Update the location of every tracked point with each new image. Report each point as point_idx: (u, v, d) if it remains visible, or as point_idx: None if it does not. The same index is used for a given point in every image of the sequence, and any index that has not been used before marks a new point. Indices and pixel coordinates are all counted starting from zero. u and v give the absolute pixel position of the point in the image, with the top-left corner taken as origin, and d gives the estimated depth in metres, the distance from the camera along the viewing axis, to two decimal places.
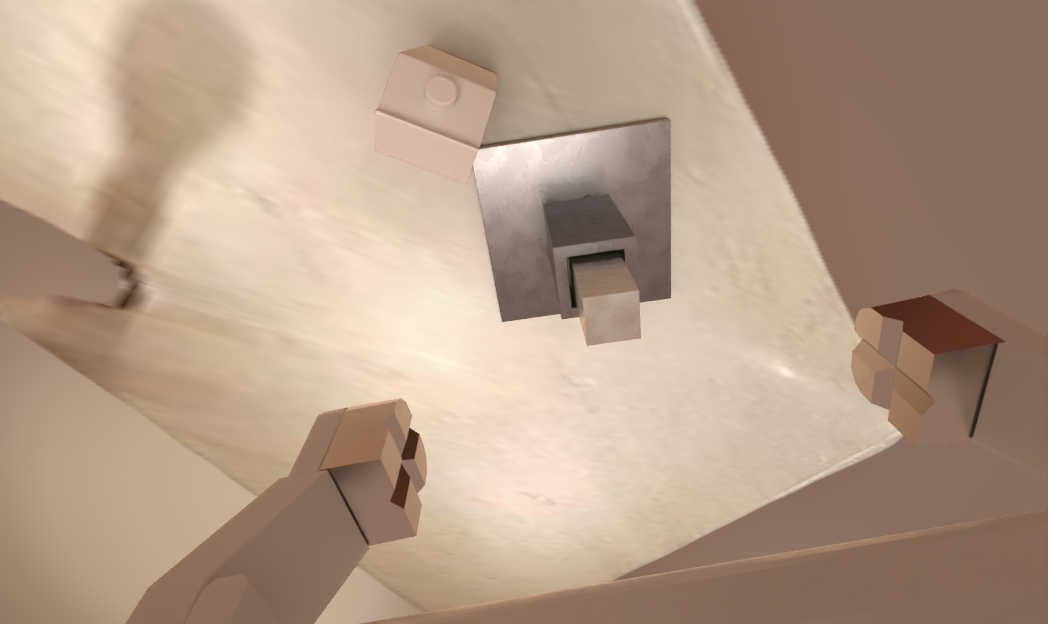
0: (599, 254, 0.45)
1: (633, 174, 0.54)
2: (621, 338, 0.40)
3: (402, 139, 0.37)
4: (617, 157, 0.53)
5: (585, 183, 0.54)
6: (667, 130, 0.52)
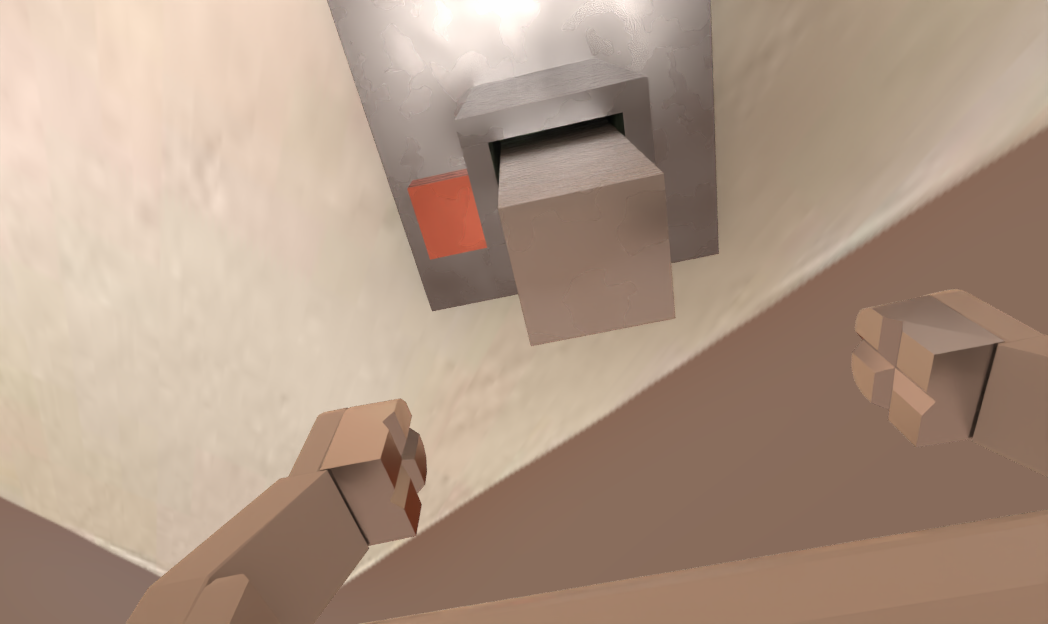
0: None
1: None
2: (529, 299, 0.14)
3: None
4: (670, 185, 0.33)
5: None
6: (704, 252, 0.35)
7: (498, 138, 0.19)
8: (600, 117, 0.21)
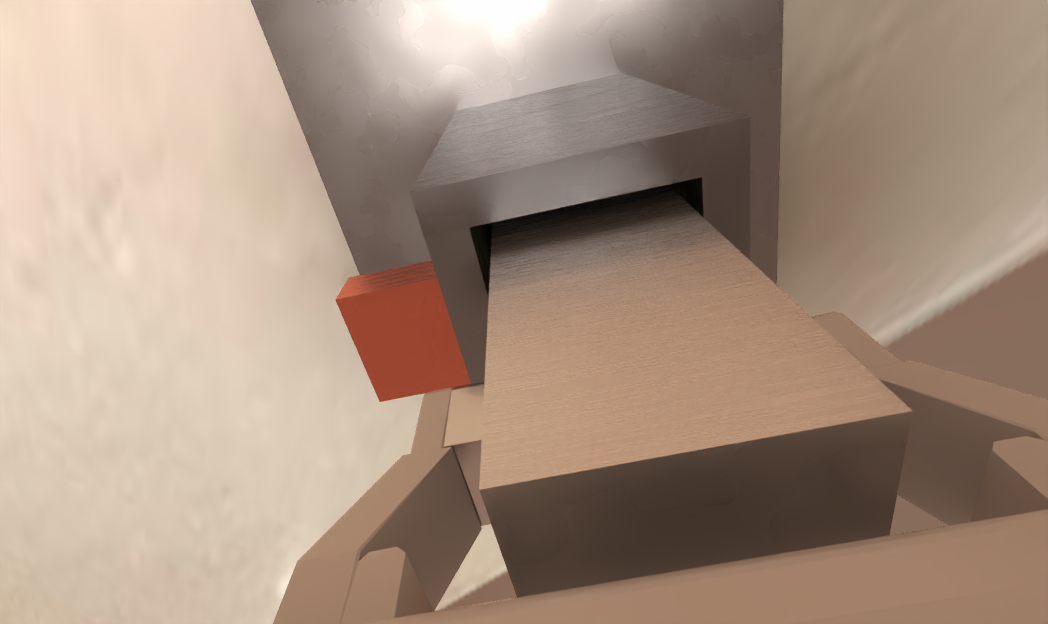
0: None
1: None
2: None
3: None
4: None
5: None
6: None
7: (487, 220, 0.11)
8: None
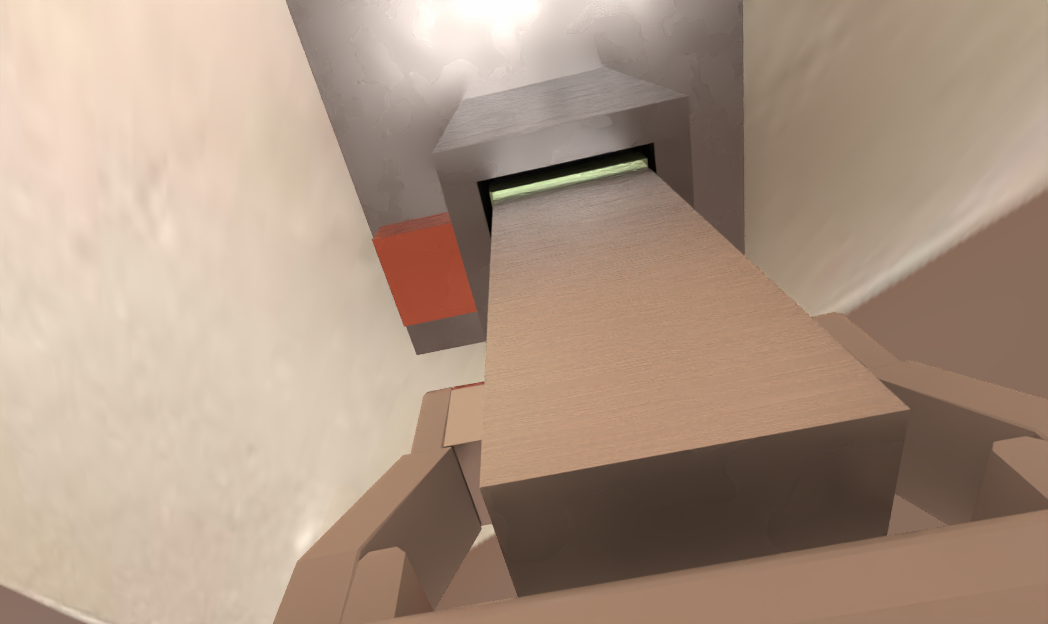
0: None
1: None
2: None
3: None
4: None
5: None
6: None
7: (490, 176, 0.15)
8: (651, 174, 0.13)
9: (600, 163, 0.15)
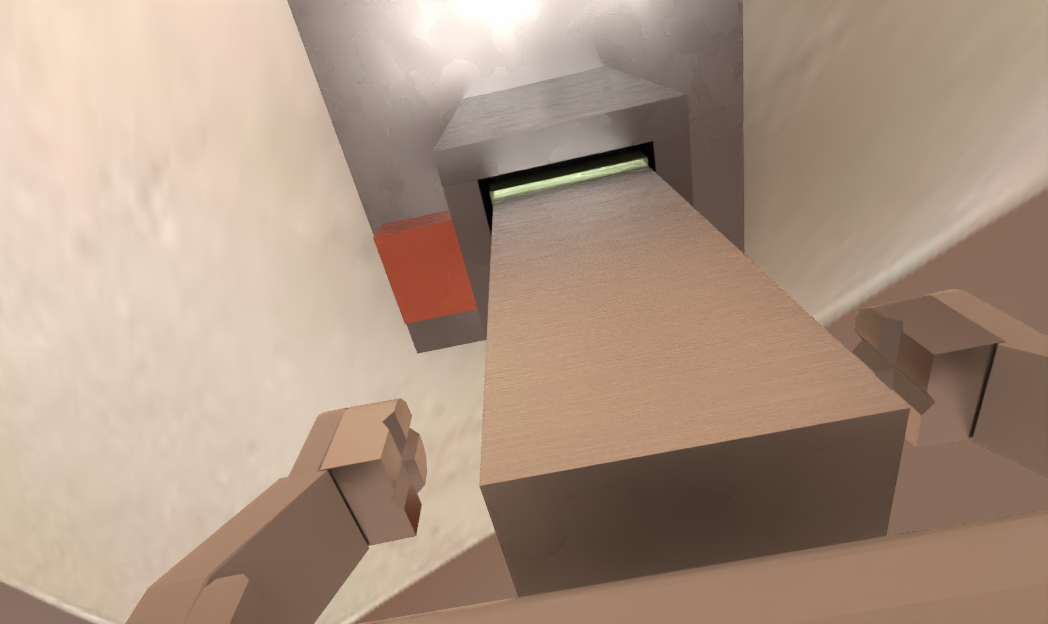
0: None
1: None
2: None
3: None
4: None
5: None
6: None
7: (490, 174, 0.15)
8: (651, 173, 0.13)
9: (600, 162, 0.15)
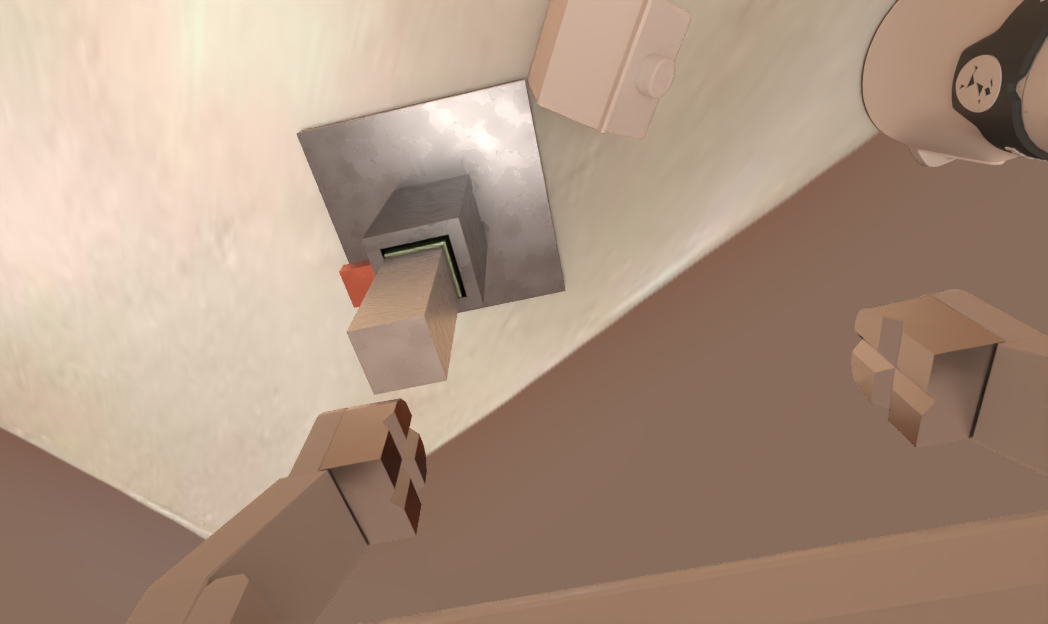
0: (450, 294, 0.35)
1: (510, 266, 0.51)
2: (369, 372, 0.29)
3: (601, 20, 0.28)
4: (526, 248, 0.50)
5: (497, 218, 0.49)
6: (555, 290, 0.53)
7: (385, 247, 0.37)
8: (440, 249, 0.35)
9: (429, 242, 0.37)
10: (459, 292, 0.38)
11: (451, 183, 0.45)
